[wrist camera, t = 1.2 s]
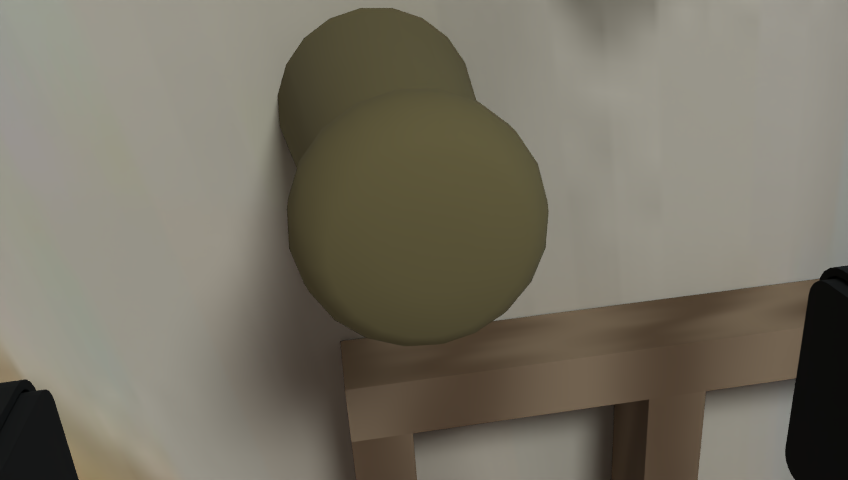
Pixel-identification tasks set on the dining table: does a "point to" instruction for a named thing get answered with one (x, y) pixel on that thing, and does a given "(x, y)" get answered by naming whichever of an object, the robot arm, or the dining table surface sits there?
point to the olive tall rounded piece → (404, 183)
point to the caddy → (578, 376)
